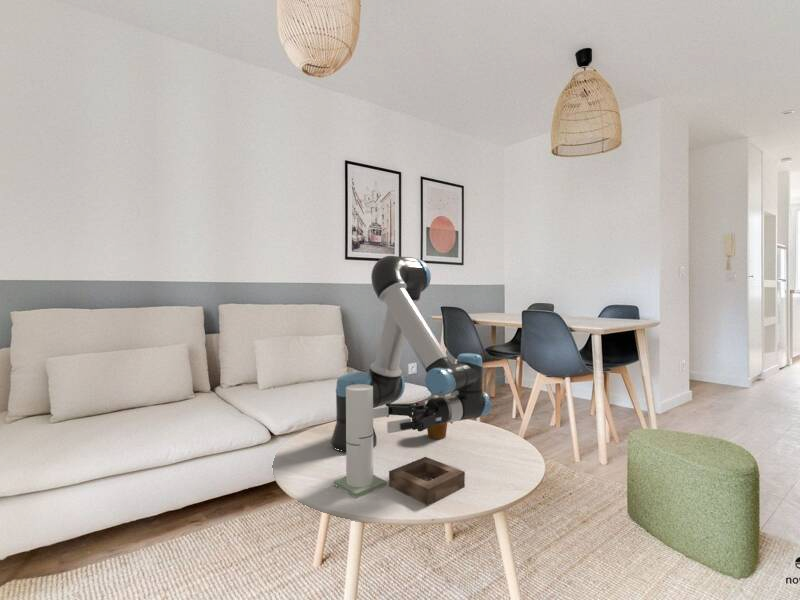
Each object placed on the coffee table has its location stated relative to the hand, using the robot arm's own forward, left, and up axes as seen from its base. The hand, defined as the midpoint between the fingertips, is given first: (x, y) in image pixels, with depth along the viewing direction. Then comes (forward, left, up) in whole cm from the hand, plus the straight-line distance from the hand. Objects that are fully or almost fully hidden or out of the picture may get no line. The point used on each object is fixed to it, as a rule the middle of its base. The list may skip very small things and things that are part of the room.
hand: (376, 420), depth 113 cm
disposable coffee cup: (-13, +38, -17) cm, 44 cm away
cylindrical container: (-2, -5, -16) cm, 16 cm away
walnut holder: (+11, +7, -16) cm, 21 cm away
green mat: (-2, -5, -16) cm, 17 cm away
